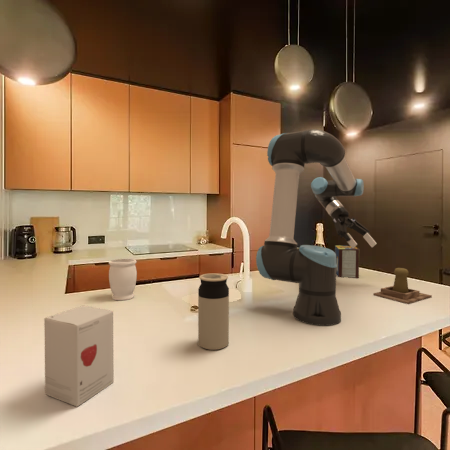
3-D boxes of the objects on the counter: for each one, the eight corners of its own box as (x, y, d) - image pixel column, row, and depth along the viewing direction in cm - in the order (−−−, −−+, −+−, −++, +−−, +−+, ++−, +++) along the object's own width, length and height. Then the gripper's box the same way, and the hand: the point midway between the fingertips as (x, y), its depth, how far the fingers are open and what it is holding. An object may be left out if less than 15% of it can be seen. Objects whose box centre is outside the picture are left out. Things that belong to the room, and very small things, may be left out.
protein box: (353, 272, 172) (354, 245, 171) (358, 278, 157) (359, 249, 156) (334, 271, 174) (334, 245, 174) (337, 277, 159) (338, 248, 159)
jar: (115, 303, 113) (114, 263, 112) (105, 297, 120) (104, 260, 120) (141, 298, 120) (141, 260, 119) (130, 292, 127) (130, 257, 127)
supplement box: (76, 408, 53) (75, 325, 52) (43, 395, 56) (41, 317, 56) (115, 382, 61) (114, 309, 60) (84, 372, 65) (83, 303, 64)
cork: (411, 297, 120) (412, 270, 119) (395, 296, 121) (396, 269, 120) (405, 293, 126) (406, 267, 125) (390, 292, 127) (390, 266, 126)
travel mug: (204, 353, 73) (204, 280, 73) (194, 340, 81) (194, 274, 80) (233, 347, 77) (234, 278, 76) (221, 335, 84) (221, 272, 83)
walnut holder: (408, 304, 113) (408, 296, 113) (373, 295, 125) (373, 288, 125) (431, 297, 123) (431, 290, 122) (397, 289, 135) (397, 282, 134)
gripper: (349, 217, 152) (376, 250, 140) (314, 216, 140) (340, 252, 127) (358, 207, 148) (387, 239, 135) (324, 205, 135) (351, 240, 122)
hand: (364, 246), depth 131 cm, fingers open, 13 cm apart
